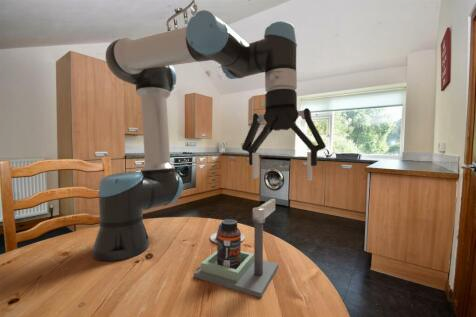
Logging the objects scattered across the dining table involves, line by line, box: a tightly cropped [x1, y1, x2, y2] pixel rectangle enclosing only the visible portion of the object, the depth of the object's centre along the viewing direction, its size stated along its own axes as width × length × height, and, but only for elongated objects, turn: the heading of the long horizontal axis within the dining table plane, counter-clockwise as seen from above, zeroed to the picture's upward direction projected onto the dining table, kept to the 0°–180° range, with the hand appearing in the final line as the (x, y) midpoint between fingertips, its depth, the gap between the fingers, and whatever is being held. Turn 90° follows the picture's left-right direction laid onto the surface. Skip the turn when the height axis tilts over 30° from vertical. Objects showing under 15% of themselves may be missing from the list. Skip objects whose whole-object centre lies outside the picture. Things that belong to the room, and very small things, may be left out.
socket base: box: [193, 222, 279, 299], centre depth 54 cm, size 17×13×13 cm
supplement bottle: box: [216, 218, 242, 269], centre depth 55 cm, size 6×6×11 cm
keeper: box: [252, 198, 276, 224], centre depth 56 cm, size 13×3×3 cm, turn 154°
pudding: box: [209, 222, 245, 244], centre depth 75 cm, size 12×12×5 cm
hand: (281, 179), depth 53 cm, fingers open, 13 cm apart
